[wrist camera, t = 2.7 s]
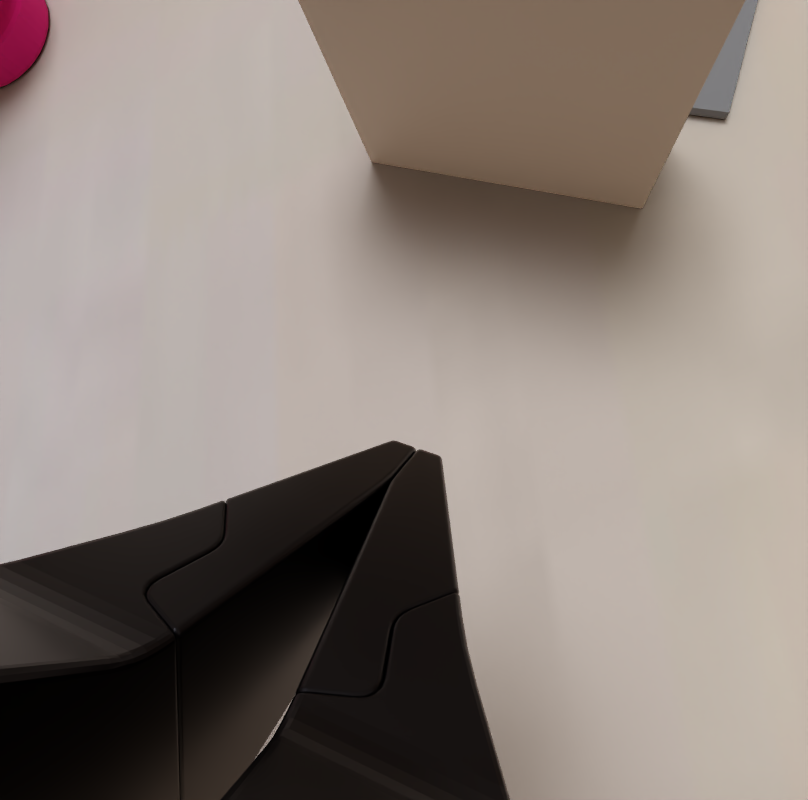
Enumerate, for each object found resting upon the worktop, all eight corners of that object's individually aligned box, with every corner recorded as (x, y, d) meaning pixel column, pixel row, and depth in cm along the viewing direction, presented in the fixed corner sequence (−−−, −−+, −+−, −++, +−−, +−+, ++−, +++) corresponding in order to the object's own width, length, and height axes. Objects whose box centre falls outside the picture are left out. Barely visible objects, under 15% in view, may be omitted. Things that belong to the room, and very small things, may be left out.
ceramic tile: (642, 209, 20) (784, -78, 10) (371, 162, 23) (249, -108, 12) (663, 129, 21) (824, -236, 10) (393, 91, 23) (291, -235, 12)
